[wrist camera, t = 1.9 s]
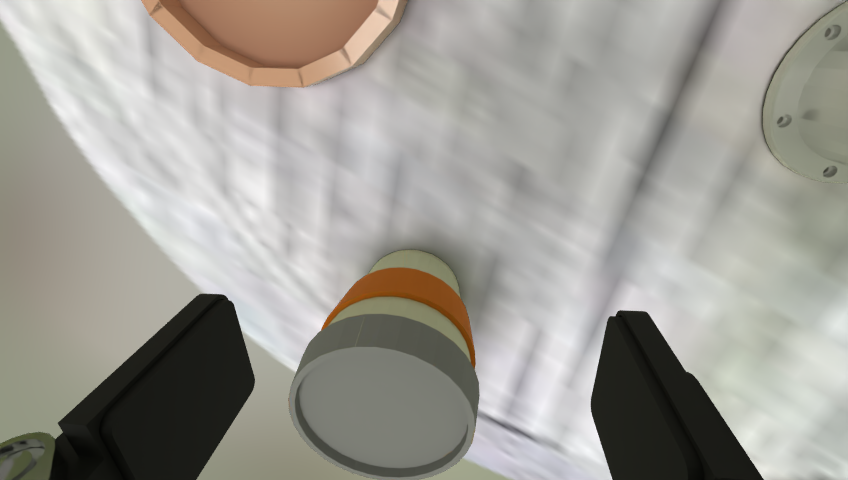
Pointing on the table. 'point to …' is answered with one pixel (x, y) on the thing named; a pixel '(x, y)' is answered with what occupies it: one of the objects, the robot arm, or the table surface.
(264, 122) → the table surface
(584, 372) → the table surface
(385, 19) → the round bowl
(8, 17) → the table surface
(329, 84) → the table surface
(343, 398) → the reusable coffee cup
